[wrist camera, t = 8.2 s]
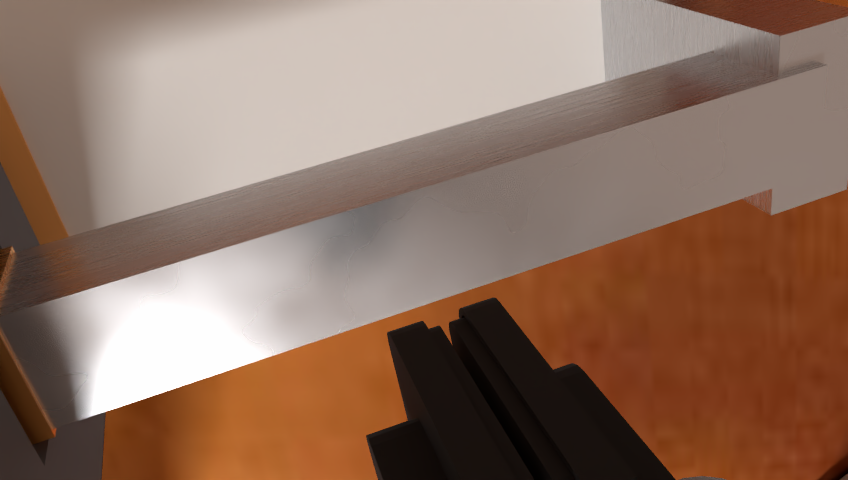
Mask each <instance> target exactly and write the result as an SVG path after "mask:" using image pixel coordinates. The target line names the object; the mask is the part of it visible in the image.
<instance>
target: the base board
mask: <svg viewBox="0 0 848 480" xmlns="http://www.w3.org/2000/svg"><path fill="white" fill-rule="evenodd" d="M602 82H605V67H604V51H603V34H602V17H601V0H0V163H1V165H2V167H3V169H4V171H5V173H6V175H7V177H8V179H9V181H10V183H11V185H12V188H13V190H14V192H15V194H16V196H17V198H18V200H19V202H20V204H21V206H22V208H23V210H24V213H25V215H26V217H27V219H28V221H29V223H30V225H31V227H32V229H33V231H34V233H35V235H36V237H37V240H38V242H39V244H40V245H42V244H46V243H49V242H53V241H56V240H60V239H63V238H66V237H70V236H73V235H77V234H80V233H84V232H87V231H91V230H94V229H98V228H101V227H104V226H108V225H111V224H115V223H118V222H122V221H125V220H129V219H132V218H136V217H139V216H143V215H146V214H149V213H153V212H156V211H160V210H163V209H167V208H170V207H174V206H177V205H181V204H184V203H187V202H191V201H194V200H198V199H201V198H205V197H208V196H212V195H215V194H219V193H222V192H226V191H229V190H232V189H236V188H239V187H243V186H246V185H250V184H253V183H257V182H260V181H264V180H267V179H270V178H274V177H277V176H281V175H284V174H288V173H291V172H295V171H298V170H302V169H305V168H309V167H312V166H315V165H319V164H322V163H326V162H329V161H333V160H336V159H340V158H343V157H347V156H350V155H353V154H357V153H360V152H364V151H367V150H371V149H374V148H378V147H381V146H385V145H388V144H392V143H395V142H398V141H402V140H405V139H409V138H412V137H416V136H419V135H423V134H426V133H430V132H433V131H436V130H440V129H443V128H447V127H450V126H454V125H457V124H461V123H464V122H468V121H471V120H475V119H478V118H481V117H485V116H488V115H492V114H495V113H499V112H502V111H506V110H509V109H513V108H516V107H519V106H523V105H526V104H530V103H533V102H537V101H540V100H544V99H547V98H551V97H554V96H558V95H561V94H564V93H568V92H571V91H575V90H578V89H582V88H585V87H589V86H592V85H596V84H599V83H602Z"/></svg>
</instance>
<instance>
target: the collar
mask: <svg viewBox="0 0 848 480" xmlns="http://www.w3.org/2000/svg"><path fill="white" fill-rule="evenodd" d="M39 245H40V244H39V242H38V240H37V237H36V235H35V233H34V231H33V229H32V227H31V225H30V223H29V221H28V219H27V217H26V215H25V213H24V210H23V208H22V206H21V204H20V202H19V200H18V198H17V196H16V194H15V192H14V190H13V188H12V185H11V183H10V181H9V179H8V177H7V175H6V173H5V171H4V169H3V167H2V165H1V163H0V249H3V248H6V247H10V246H12V247H13V249H14V251H15V252H18V251H21V250H25V249H28V248H32V247H35V246H39ZM104 429H105V412H103V413H100V414H97V415H94V416H91V417H88V418H85V419H82V420H79V421H76V422H73V423H70V424H67V425H64V426H61V427H58V428H56V434H55V437H53V438H50V439H48V440H45V441H42V442H39V443H36V444H33V445H32V443H31V442H30V440H29V438H28V436H27V435H26V433H25V431H24V429H23V428H22V426H21V424H20V422H19V421H18V419H17V417H16V415H15V414H14V412H13V410H12V408H11V407H10V405H9V403H8V401H7V400H6V398H5V396H4V394H3V393H2V391H1V389H0V480H101V479H102V462H103V445H104Z"/></svg>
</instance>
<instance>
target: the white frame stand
mask: <svg viewBox="0 0 848 480" xmlns="http://www.w3.org/2000/svg"><path fill="white" fill-rule="evenodd" d="M601 17H602V34H603V51H604V67H605V82H602V83H599V84H596V85H592V86H589V87H585V88H582V89H578V90H575V91H571V92H568V93H564V94H561V95H558V96H554V97H551V98H547V99H544V100H540V101H537V102H533V103H530V104H526V105H523V106H519V107H516V108H513V109H509V110H506V111H502V112H499V113H495V114H492V115H488V116H485V117H481V118H478V119H475V120H471V121H468V122H464V123H461V124H457V125H454V126H450V127H447V128H443V129H440V130H436V131H433V132H430V133H426V134H423V135H419V136H416V137H412V138H409V139H405V140H402V141H398V142H395V143H392V144H388V145H385V146H381V147H378V148H374V149H371V150H367V151H364V152H360V153H357V154H353V155H350V156H347V157H343V158H340V159H336V160H333V161H329V162H326V163H322V164H319V165H315V166H312V167H309V168H305V169H302V170H298V171H295V172H291V173H288V174H284V175H281V176H277V177H274V178H270V179H267V180H264V181H260V182H257V183H253V184H250V185H246V186H243V187H239V188H236V189H232V190H229V191H226V192H222V193H219V194H215V195H212V196H208V197H205V198H201V199H198V200H194V201H191V202H187V203H184V204H181V205H177V206H174V207H170V208H167V209H163V210H160V211H156V212H153V213H149V214H146V215H143V216H139V217H136V218H132V219H129V220H125V221H122V222H118V223H115V224H111V225H108V226H104V227H101V228H98V229H94V230H91V231H87V232H84V233H80V234H77V235H73V236H70V237H66V238H63V239H60V240H56V241H53V242H49V243H46V244H42V245H39V246H35V247H32V248H28V249H25V250H21V251H18V252H15V251H14V249H13V247H12V246H10V247H6V248H3V249H0V389H1V391H2V393H3V394H4V396H5V398H6V400H7V401H8V403H9V405H10V407H11V408H12V410H13V412H14V414H15V415H16V417H17V419H18V421H19V422H20V424H21V426H22V428H23V429H24V431H25V433H26V435H27V436H28V438H29V440H30V442H31V443H32V445H33V444H36V443H39V442H42V441H45V440H48V439H50V438H53V437H55V434H56V428H58V427H61V426H64V425H67V424H70V423H73V422H76V421H79V420H82V419H85V418H88V417H91V416H94V415H97V414H100V413H103V412H106V411H109V410H112V409H115V408H118V407H121V406H124V405H127V404H130V403H133V402H136V401H139V400H142V399H145V398H148V397H151V396H154V395H157V394H160V393H163V392H166V391H169V390H172V389H175V388H178V387H181V386H184V385H187V384H190V383H193V382H196V381H199V380H202V379H205V378H208V377H211V376H213V375H216V374H219V373H222V372H225V371H228V370H231V369H234V368H237V367H240V366H243V365H246V364H249V363H252V362H255V361H258V360H261V359H264V358H267V357H270V356H273V355H276V354H279V353H282V352H285V351H288V350H291V349H294V348H297V347H300V346H303V345H306V344H309V343H312V342H315V341H318V340H321V339H324V338H327V337H330V336H333V335H336V334H339V333H342V332H345V331H348V330H351V329H354V328H357V327H360V326H363V325H366V324H369V323H372V322H375V321H378V320H381V319H384V318H387V317H390V316H393V315H396V314H399V313H402V312H405V311H408V310H411V309H414V308H417V307H420V306H423V305H426V304H429V303H432V302H435V301H438V300H441V299H444V298H446V297H449V296H452V295H455V294H458V293H461V292H464V291H467V290H470V289H473V288H476V287H479V286H482V285H485V284H488V283H491V282H494V281H497V280H500V279H503V278H506V277H509V276H512V275H515V274H518V273H521V272H524V271H527V270H530V269H533V268H536V267H539V266H542V265H545V264H548V263H551V262H554V261H557V260H560V259H563V258H566V257H569V256H572V255H575V254H578V253H581V252H584V251H587V250H590V249H593V248H596V247H599V246H602V245H605V244H608V243H611V242H614V241H617V240H620V239H623V238H626V237H629V236H632V235H635V234H638V233H641V232H644V231H647V230H650V229H653V228H656V227H659V226H662V225H665V224H668V223H671V222H674V221H677V220H680V219H682V218H685V217H688V216H691V215H694V214H697V213H700V212H703V211H706V210H709V209H712V208H715V207H718V206H721V205H724V204H727V203H730V202H733V201H736V200H739V199H743V200H745V201H747V202H749V203H750V204H752V205H754V206H756V207H757V208H759V209H761V210H763V211H764V212H766V213H768V214H770V215H773V214H776V213H779V212H782V211H785V210H788V209H791V208H794V207H797V206H799V205H802V204H805V203H808V202H811V201H814V200H817V199H820V198H823V197H826V196H829V195H832V194H834V193H837V192H840V191H843V190H846V189H847V180H848V7H843V6H839V5H834V4H830V3H825V2H820V1H816V0H601Z"/></svg>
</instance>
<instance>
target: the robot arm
mask: <svg viewBox="0 0 848 480" xmlns="http://www.w3.org/2000/svg"><path fill="white" fill-rule="evenodd" d="M449 330H450V335H451V340H452V344H451V343H450V341H449V340H448V338H447V336H446V335H445V333H444V331H443V330H442V328H441V327H440V326H436V327H433V328H430V329H428V328H427V326H426V324H425V323H424V322H423V321H420V322H417V323H414V324H411V325H408V326H405V327H402V328H399V329H396V330H393V331H390V332H388V333H387V336H388V341H389V346H390V350H391V354H392V358H393V362H394V366H395V370H396V374H397V378H398V382H399V386H400V390H401V394H402V398H403V402H404V407H405V411H406V415H407V419H408V421H406V422H403V423H400V424H398V425H395V426H392V427H389V428H386V429H383V430H380V431H378V432H375V433H372V434H369V435H366V438H367V442H368V446H369V449H370V453H371V456H372V460H373V463H374V467H375V470H376V474H377V477H378V480H675V478H674V477H673V476H672V475H671V474H670V472H669V471H668V470H667V469H666V468H665V467H664V465H663V464H662V463H661V462H660V461H659V459H658V458H657V457H656V456H655V455H654V454H653V452H652V451H651V450H650V449H649V448H648V446H647V445H646V444H645V443H644V442H643V441H642V439H641V438H640V437H639V436H638V435H637V433H636V432H635V431H634V430H633V429H632V428H631V426H630V425H629V424H628V423H627V422H626V420H625V419H624V418H623V417H622V416H621V415H620V413H619V412H618V411H617V410H616V409H615V407H614V406H613V405H612V404H611V403H610V402H609V400H608V399H607V398H606V397H605V396H604V394H603V393H602V392H601V391H600V390H599V388H598V387H597V386H596V385H595V384H594V383H593V381H592V380H591V379H590V378H589V377H588V375H587V374H586V373H585V372H584V371H583V370H582V369H581V368H580V367H579V366H578V365H576V364H573V363H571V364H569V365H566V366H563V367H560V368H557V369H554V370H553V369H552V368H551V367H550V366H549V364H548V363H547V362H546V361H545V359H544V358H543V357H542V355H541V354H540V353H539V352H538V350H537V349H536V348H535V347H534V345H533V344H532V343H531V341H530V340H529V339H528V338H527V336H526V335H525V334H524V333H523V331H522V330H521V329H520V327H519V326H518V325H517V324H516V322H515V321H514V320H513V319H512V317H511V316H510V315H509V313H508V312H507V311H506V310H505V308H504V307H503V306H502V305H501V303H500V302H499V301H498V300H497V299H496V298H490V299H487V300H484V301H481V302H478V303H475V304H472V305H469V306H466V307H463V308H460V310H459V319H458V320H455V321H452V322H450V323H449ZM452 345H453V346H452ZM680 480H725V479H722V478H714V477H705V476H699V477H690V478H682V479H680ZM839 480H848V474H846V475H845V476H844V477H842V478H841V479H839Z"/></svg>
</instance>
